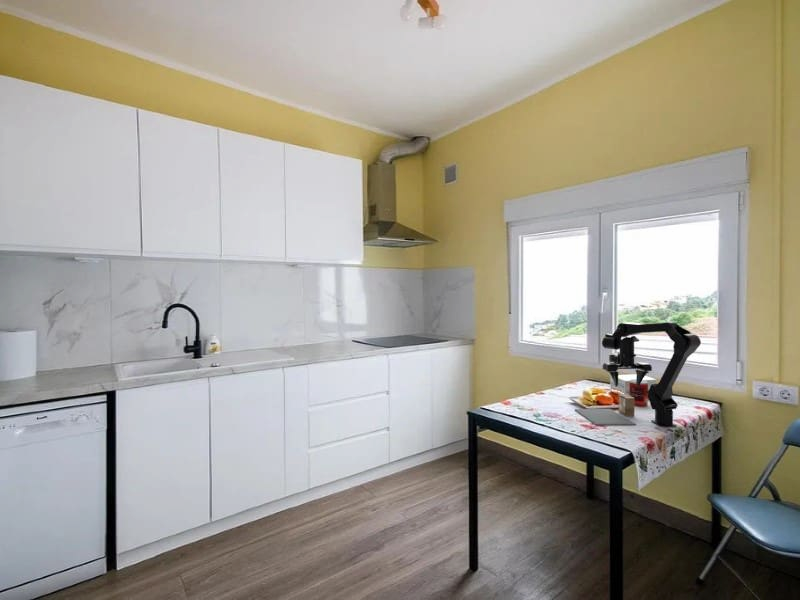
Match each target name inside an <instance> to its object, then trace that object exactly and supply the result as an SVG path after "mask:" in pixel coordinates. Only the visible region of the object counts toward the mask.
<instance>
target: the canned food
mask: <svg viewBox="0 0 800 600" xmlns="http://www.w3.org/2000/svg"><path fill="white" fill-rule="evenodd" d="M647 392H648V382H647V381H644V380H642V381H641V383H640V385H639V386H637V384H636V379H632V380H630V381H629V396H631V397H633V398H634V407H647V406H648V404H649V403H648V402H649V400H648V398H647V395H648V393H647Z"/></svg>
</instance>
